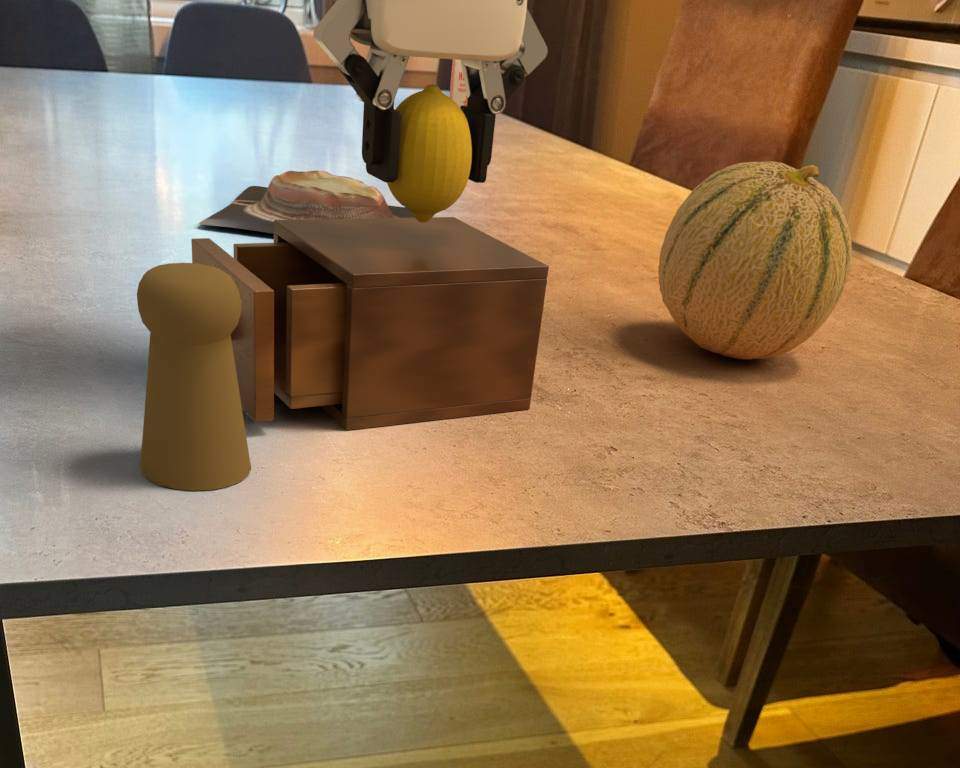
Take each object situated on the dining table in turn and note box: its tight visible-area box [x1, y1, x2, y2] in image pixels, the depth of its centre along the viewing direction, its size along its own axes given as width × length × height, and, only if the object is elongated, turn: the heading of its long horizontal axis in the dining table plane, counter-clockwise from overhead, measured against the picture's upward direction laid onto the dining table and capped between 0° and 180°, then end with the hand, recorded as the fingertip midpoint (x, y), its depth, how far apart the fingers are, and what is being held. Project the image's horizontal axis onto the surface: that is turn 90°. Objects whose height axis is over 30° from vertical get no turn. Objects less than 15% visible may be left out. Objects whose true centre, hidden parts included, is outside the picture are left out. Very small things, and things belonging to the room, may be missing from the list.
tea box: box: [448, 59, 468, 107], centre depth 184 cm, size 4×7×10 cm, turn 92°
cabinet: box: [273, 216, 549, 431], centre depth 72 cm, size 14×13×10 cm
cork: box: [136, 262, 252, 492], centre depth 58 cm, size 6×6×11 cm
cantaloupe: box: [657, 160, 853, 360], centre depth 85 cm, size 15×15×15 cm
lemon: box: [386, 84, 472, 223], centre depth 68 cm, size 6×6×8 cm
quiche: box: [199, 170, 415, 235], centre depth 112 cm, size 21×20×4 cm
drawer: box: [190, 237, 348, 423], centre depth 69 cm, size 14×11×8 cm
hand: (426, 174), depth 68 cm, fingers closed on lemon, 5 cm apart
